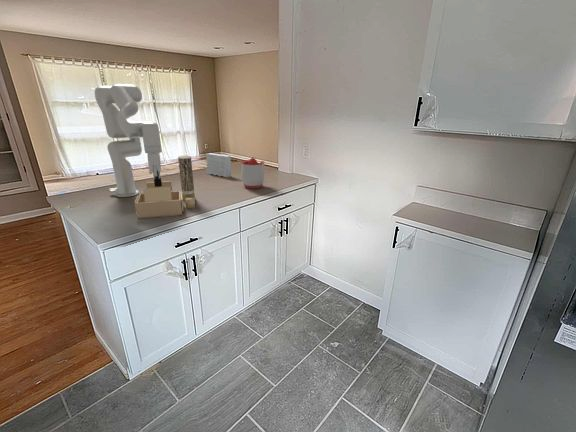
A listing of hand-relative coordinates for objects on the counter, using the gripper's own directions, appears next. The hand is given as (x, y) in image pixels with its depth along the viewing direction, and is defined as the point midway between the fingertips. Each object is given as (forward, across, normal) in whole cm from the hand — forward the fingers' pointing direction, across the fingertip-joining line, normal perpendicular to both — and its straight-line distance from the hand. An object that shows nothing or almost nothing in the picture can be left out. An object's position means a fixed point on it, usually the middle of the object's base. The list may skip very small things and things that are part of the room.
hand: (158, 186), depth 148 cm
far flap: (+5, -9, 0) cm, 10 cm away
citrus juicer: (+14, -36, +57) cm, 68 cm away
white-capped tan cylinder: (+14, -4, +14) cm, 20 cm away
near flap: (+6, +8, 0) cm, 10 cm away
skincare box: (+13, -74, +38) cm, 84 cm away
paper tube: (+14, -18, +14) cm, 26 cm away
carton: (+14, 0, 0) cm, 14 cm away
